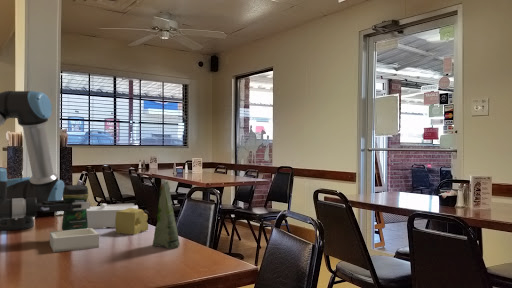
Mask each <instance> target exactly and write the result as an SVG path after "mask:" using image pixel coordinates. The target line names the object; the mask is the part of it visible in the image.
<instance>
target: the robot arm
mask: <svg viewBox="0 0 512 288" xmlns="http://www.w3.org/2000/svg"><path fill="white" fill-rule="evenodd" d="M52 109H53V107H52V102H51V100H50V98H49V96H48V95H47V94H46V93H45V92H42V91H36V90H5V91H1V92H0V126H3V125H5V123H6V121H7V120H9V119H17V124H18V125H19V126H20V127H22V129H23V134H24V138H25V144H26V145H25V146H26V150H27V155H28V160H29V165H30V166H29V167H30V171H31V175H32V176H31V177H30V176H26V177H25V176H24V177H19V178H11V179H9V178H8V171H7V169H6V168H5V167H0V231H18V230H25V229H30V228H33V227H34V226H35V221H34V218H35V217H37V216H38V212H42V213H45V214H46V213H51V212H52V213H53V212H57V213H58V212H64V211H70V212H73V210H78V209H90V207H91V202H90V201H86V202H78V203H70V204H64V199H63V190H64V187H65V182H64V181H63V180H61V179H59V177H58V174H57V173H56V172H54V170H53V164H52V163H53V162H52V158H51V153H50V152H51V151H50V147H49V141H48V136H47V135H48V134H47V129H46V124H47V123H48V121H49V118H51V116H52Z"/></svg>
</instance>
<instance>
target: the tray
mask: <svg viewBox="0 0 512 288" xmlns="http://www.w3.org/2000/svg"><path fill="white" fill-rule="evenodd" d="M49 246H50V247H51V250H52V252H53V253H59V252H60V253H61V252H68V251H78V250H87V249H95V248H96V249H97V248H100V233H99V232H97V231H96V230H95V228H94V229H93V228H88V229H76V230H65V231H63V230H56V231H50V232H49Z"/></svg>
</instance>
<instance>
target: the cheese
mask: <svg viewBox="0 0 512 288" xmlns="http://www.w3.org/2000/svg"><path fill="white" fill-rule="evenodd" d="M148 218H149V217H148V214H147V213H145V211H144V210H143V209H140V208H138V209H135V208H128V209H125V210H121V211H117V212H116V219H115V228H114V229H115V233H116V234H120V233H124V234H123V235H131V234H135V235H138V234H140V233H144V232H143V231H145V232H147V231H146V230H149V223H148ZM137 233H138V234H137Z"/></svg>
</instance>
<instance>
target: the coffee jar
mask: <svg viewBox="0 0 512 288" xmlns="http://www.w3.org/2000/svg"><path fill="white" fill-rule="evenodd" d="M88 189H89V187H88V186H87V185H84V184H72V185H70V184H69V185H64V190H63V197H62V199H63V200H64V204H70V203H78V202H88V201H87V199H88V197H89V190H88ZM61 221H62V222H61V231H65V230H76V229H87V228H88V221H87V209H78V210H73V212H70V211H63V214H62V220H61Z"/></svg>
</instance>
